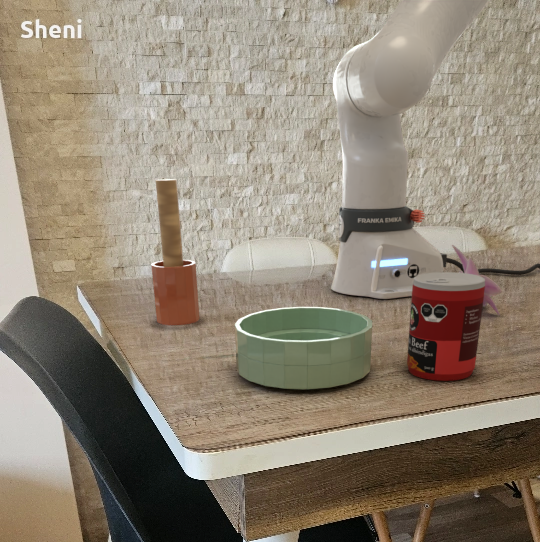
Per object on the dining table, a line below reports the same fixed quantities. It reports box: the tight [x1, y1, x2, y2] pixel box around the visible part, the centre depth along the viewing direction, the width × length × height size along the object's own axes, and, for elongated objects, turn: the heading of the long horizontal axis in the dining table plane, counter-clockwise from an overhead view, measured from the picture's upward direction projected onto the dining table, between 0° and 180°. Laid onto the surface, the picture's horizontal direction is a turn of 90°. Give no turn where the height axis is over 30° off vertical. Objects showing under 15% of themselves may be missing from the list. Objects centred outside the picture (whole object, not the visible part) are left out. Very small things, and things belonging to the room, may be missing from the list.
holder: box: [150, 259, 201, 326], centre depth 102 cm, size 7×7×9 cm
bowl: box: [234, 306, 373, 391], centre depth 80 cm, size 16×16×6 cm
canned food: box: [406, 271, 485, 382], centre depth 78 cm, size 8×8×11 cm
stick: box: [155, 178, 184, 267], centre depth 99 cm, size 3×3×20 cm
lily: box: [451, 244, 503, 317], centre depth 104 cm, size 12×12×10 cm
